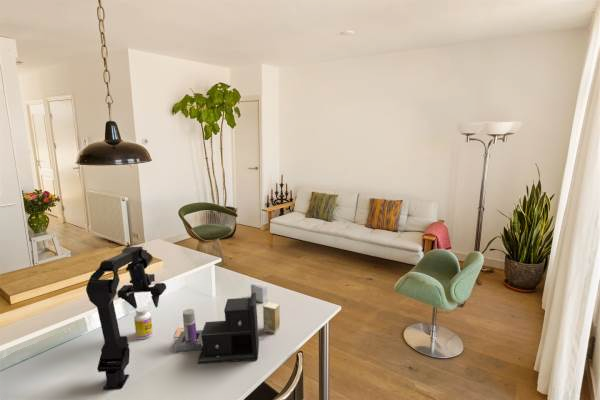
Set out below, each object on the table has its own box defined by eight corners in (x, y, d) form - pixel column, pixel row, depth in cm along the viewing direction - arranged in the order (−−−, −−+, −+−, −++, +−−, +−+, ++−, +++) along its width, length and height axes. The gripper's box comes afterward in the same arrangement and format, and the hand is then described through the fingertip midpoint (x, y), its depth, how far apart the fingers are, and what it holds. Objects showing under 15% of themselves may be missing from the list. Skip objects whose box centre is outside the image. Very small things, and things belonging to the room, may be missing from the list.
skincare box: (263, 331, 152) (262, 305, 149) (268, 326, 155) (267, 301, 153) (275, 334, 149) (274, 308, 147) (280, 329, 153) (279, 304, 150)
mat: (190, 336, 148) (190, 335, 148) (174, 337, 148) (174, 337, 148) (193, 327, 155) (193, 326, 155) (178, 328, 155) (178, 328, 155)
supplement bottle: (146, 340, 146) (143, 313, 144) (133, 339, 147) (129, 312, 145) (156, 331, 153) (153, 305, 150) (143, 330, 154) (139, 304, 151)
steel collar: (201, 350, 139) (200, 344, 138) (175, 352, 138) (175, 346, 137) (205, 336, 149) (205, 329, 148) (181, 337, 148) (181, 331, 147)
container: (198, 340, 146) (195, 308, 143) (195, 347, 141) (192, 314, 138) (187, 340, 145) (184, 308, 142) (184, 347, 141) (180, 314, 138)
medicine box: (268, 299, 180) (267, 284, 178) (263, 303, 176) (262, 288, 174) (256, 296, 184) (255, 281, 182) (251, 299, 180) (250, 284, 178)
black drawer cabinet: (196, 364, 131) (191, 308, 126) (202, 347, 141) (198, 294, 137) (257, 360, 132) (255, 305, 127) (259, 343, 143) (256, 291, 138)
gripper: (167, 264, 148) (175, 295, 152) (126, 267, 149) (135, 298, 154) (156, 277, 137) (164, 310, 141) (112, 280, 138) (121, 313, 143)
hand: (146, 307), depth 145 cm, fingers open, 9 cm apart
